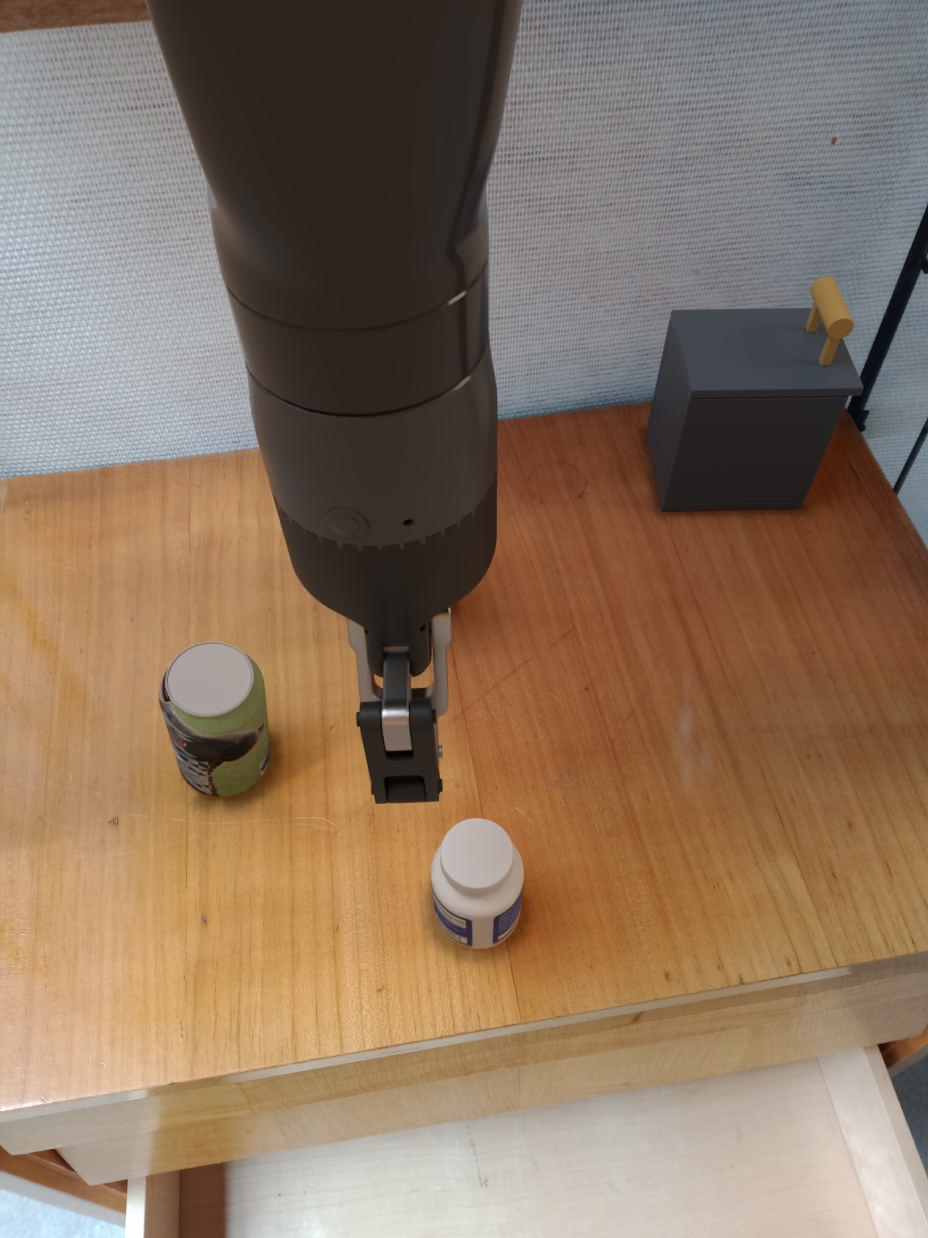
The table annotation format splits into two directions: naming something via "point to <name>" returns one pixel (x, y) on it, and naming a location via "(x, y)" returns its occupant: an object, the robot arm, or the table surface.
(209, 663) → the beverage can
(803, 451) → the chest
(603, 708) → the table surface
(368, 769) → the robot arm
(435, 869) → the pill bottle
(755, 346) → the lid
